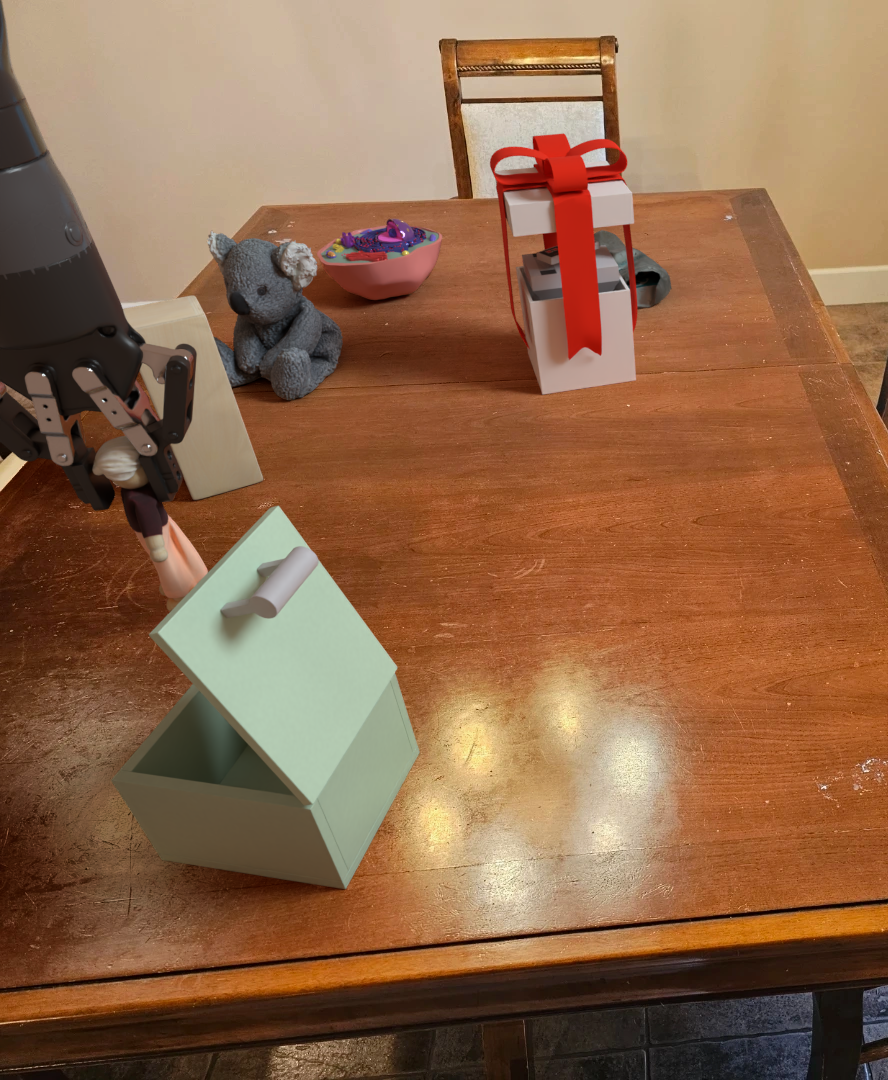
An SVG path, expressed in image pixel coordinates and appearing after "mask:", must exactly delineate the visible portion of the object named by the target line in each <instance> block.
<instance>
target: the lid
mask: <svg viewBox="0 0 888 1080" xmlns="http://www.w3.org/2000/svg"><path fill="white" fill-rule="evenodd" d="M148 636H149V637H150V639H152V641H153V642H154V643H155V644H156V645H157V646H158V647H159V648H160V650H161V651H162V652H163V653H164V654H165V655H166V656H167V657H168V658H169V659H170V660H171V662H172V663H173V664H174V665H175V666H177V668H178V669H179V670H180V671H181V672H182V674H183V675H184V676H185V677H186V678H187V679H188V680H189V681H190V683H192V684H194V685H195V687H196V688H197V689H198V690H199V691H200V692H201V693H202V694H203V695H204V696H205V697H206V699H207V700H208V701H209V702H210V703H211V704H212V705H213V706H214V707H215V708H216V710H217V711H218V712H219V713H220V714H221V715H222V716H223V717H224V718H225V719H226V720H227V722H228V723H229V724H230V725H231V726H232V727H233V728H234V729H235V730H236V731H237V733H238V734H239V735H240V736H241V737H242V738H243V739H244V740H245V741H246V742H247V743H248V745H249V746H250V747H251V748H252V749H253V750H254V751H255V752H256V753H257V754H258V756H259V757H260V758H261V759H262V760H263V761H264V762H265V763H266V764H267V765H268V766H269V768H270V769H271V770H272V771H273V772H274V773H275V774H276V775H277V776H278V777H279V779H280V780H281V781H282V782H283V783H284V784H285V785H286V786H287V787H288V788H289V790H290V791H291V792H292V793H293V794H294V795H295V796H296V797H297V798H298V799H299V800H300V802H301V803H302V804H303V805H312V804H314V802H315V800H316V799H317V797H318V796H319V794H320V792H321V791H322V789H323V787H324V786H325V784H326V783H327V781H328V779H329V778H330V776H331V775H332V773H333V771H334V770H335V768H336V767H337V765H338V763H339V762H340V760H341V758H342V757H343V755H344V754H345V752H346V750H347V749H348V747H349V746H350V744H351V742H352V741H353V739H354V738H355V736H356V734H357V733H358V731H359V729H360V728H361V726H362V725H363V723H364V721H365V720H366V718H367V717H368V715H369V713H370V712H371V710H372V709H373V707H374V705H375V704H376V702H377V700H378V699H379V697H380V696H381V694H382V692H383V691H384V689H385V688H386V686H387V684H388V683H389V681H390V680H391V678H392V676H393V675H394V673H395V674H396V672H397V670H398V666H397V664H396V663H395V662H394V660H393V658H391V656H390V655H389V653H388V652H387V651H386V650H385V648H384V646H382V644H381V643H380V642H379V640H378V639H377V637H376V636H375V635H374V633H373V632H372V630H371V629H370V628H369V626H368V625H367V623H366V622H365V621H364V620H363V618H362V617H361V615H360V614H359V612H358V611H357V610H356V608H355V607H354V606H353V605H352V603H351V602H350V600H349V599H348V598H347V596H346V595H345V593H344V592H343V591H342V590H341V588H340V586H338V584H337V583H336V582H335V580H334V579H333V577H332V576H331V574H329V571H327V569H326V568H325V566H324V565H323V564H322V562H321V561H320V559H319V557H318V555H317V554H316V553H315V552H314V551H313V550H312V549H311V547H310V546H309V545H308V544H307V542H306V541H305V539H304V538H303V536H302V535H301V534H300V532H299V531H298V530H297V529H296V527H295V526H294V524H293V523H292V522H291V520H290V519H289V517H288V516H287V515H286V514H285V512H284V511H283V510H282V508H281V506H280V505H275V506H272V507H269V508H268V509H267V510H266V511H265V512H264V513H263V514H262V516H260V517H259V519H257V521H256V522H255V523H254V524H253V525H252V526H251V527H250V528H249V529H248V530H247V531H246V532H245V534H243V535H242V536H241V538H240V539H238V540H237V542H235V543H234V545H233V546H232V547H231V548H230V549H229V550H228V551H227V552H226V553H225V554H224V555H223V556H222V557H221V558H220V559H219V560H218V562H216V564H215V565H214V566H213V567H212V568H211V569H210V570H208V573H207V574H206V575H205V576H204V577H203V578H202V579H201V580H200V581H199V583H198V584H197V585H196V586H195V587H194V588H193V589H192V590H191V591H190V592H189V593H188V594H187V595H186V596H185V597H184V598H183V599H182V600H181V601H180V602H179V603H178V604H177V606H176V607H175V608H174V609H173V610H172V611H169V613H167V615H165V617H164V618H163V619H162V620H161V621H160V622H159V623H158V624H157V625H156V626H155V627H154V629H152V630H151V631H150V632H149V633H148Z"/></svg>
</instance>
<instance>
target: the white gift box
mask: <svg viewBox="0 0 888 1080" xmlns="http://www.w3.org/2000/svg"><path fill="white" fill-rule="evenodd" d="M600 149H613V150H614V149H615V150H618V155H619V156H618V159H617V161H616V162H614V163H611V164H610V163H609V162H608V161H607V160H598V161H589V162H585V161H584V159H583V157H582V156H584V155H585V154H587V153H590V152H593V151H596V150H600ZM511 157H528V158H534V160H535V162H536V163H533V165H532V166H533V167H524V168H513V169H502V170H496V168H497V165H498V164H499V163H500V162H501V161H503V160H505V159H506V158H511ZM489 167H490V170H491V172H492V175H493V177H494V179H495V191H496V194H497V199H498V206H499V207H498V208H499V216H500V224H501V235H502V245H503V254H504V263H505V270H506V271H505V273H506V280H507V287H508V294H509V295H508V296H509V305H510V310H511V314H512V318H513V320H514V323H515V326H516V329H517V331H518V333H519V336H520V338H521V339H522V341H523V343H524V345H525V346H526V348H527V349H526V350H527V355H528V358H529V360H530V363H531V366H532V369H533V371H534V375H535V377H536V379H537V383H538V387H539V389H540V391H541V395H548V394H555V393H562V392H568V391H575V390H580V389H581V390H582V389H588V388H589V389H590V388H594V387H601V386H608V385H614V384H622V383H627V382H634V381H637V373H636V358H635V357H636V356H635V355H636V354H635V344H634V332H635V329H636V326H637V320H638V309H637V293H636V280H635V269H634V258H633V249H632V248H633V241H632V233H631V232H632V231H631V225H633V224H635V213H634V199H633V197H634V196H633V192H632V190H631V189H630V188H629V187H628V184H627V182H626V181H625V179H624V178H623V176H622V175H621V174H622V173H623V172H625V170H626V169H627V168H628V158H627V155H626V153H625V152H624V151H623V150H622V149H621V147H619V145H618V144H617V143H616V142H614V141H613V140H611V139H608V138H595V139H590V140H587V141H584V142H580V143H579V144H577V145H575V146H573V147H571V145H570V142H569V139H568V137H567V135H566V134H565V133H554V134H553V133H552V134H540V135H533V136H532V148H530V147H524V146H505V147H502V148H499V149H497V150H496V151H494V152H493V153H492V155H491V157H490V160H489ZM507 225H508V226H509V229H510V231H511V234H512V236H513V238H514V237H523V236H524V237H525V236H533V235H541V234H542V239H543V246H544V247H543V248H544V249H543V250H540V251H537V252H535V253H534V252H533V253H525V254H521V258H522V265H520V266H515V272H516V279H517V285H518V292H519V293H518V294H519V300H520V306H521V307H520V308H521V312H522V313H521V314H522V321H523V326H524V331H523V329H522V326H521V325H520V323H519V322H518V320H517V317H516V312H515V304H514V295H513V286H512V276H511V264H510V253H509V252H510V251H509V237H508V226H507ZM615 226H622V231H623V236H624V245H625V247H626V254H627V263H628V271H629V282H630V289H629V288H628V286H627V284H626V283H625V281H624V280H623V278H622V276H621V275H620V273H619V268H618V265H617V263H616V261H615V260H614V258H613V257H612V255H611V254H610V252H609V250H608V249H607V247H606V246H605V245H602V246H599V242H598V241H595V240H594V234H595V231H594V229H596V228H605V227H606V228H607V227H615Z"/></svg>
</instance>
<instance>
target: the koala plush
mask: <svg viewBox="0 0 888 1080" xmlns="http://www.w3.org/2000/svg"><path fill="white" fill-rule="evenodd" d="M207 237H208V238H207V239H206V240H207V241H206V243H207V246H208V249H209V252H210V254H211V256H212V257H213V259H214V261H215V263H217V266H218V269H219V271H220V273H221V275H222V276H223V277H222V278H223V282H224V283H223V284H224V286H225V290H226V292H225V293H226V294H225V296H226V300H227V303H228V305H229V308H230V309H231V310H232V311H233V312H234V313H235V314H237V316H236V321H235V324H234V326H233V327H234V328H233V335H232V336H233V337H232V341H233V342H232V345H233V349H232V348H230V347H229V345H228V344H226V343H225V342H223V341H222V340H221V339H219V338H218V337H217V336H214V335H213V337H214V340H215V343H216V345H217V348H218V351H219V354H220V357H221V360H222V362H223V365H224V368H225V371H226V374H227V377H228V380H229V382H230V385H231V388H235V387H239V386H242V385H246V384H250V383H252V382H255V381H257V380H259V379H261V378H264V379H266V380H267V381H270V383H271V387H272V389H273V392H274V393H275V394H276V395H277V396H278V397H280V398H281V399H283V400H287V401H291V400H295V399H298V398H300V399H301V398H304V396H306V395H308V394H310V393H311V392H313V391H315V390H316V388H318V387H319V386H320V384H322V382H324V380H325V379H326V377H328V376H330V375H331V374H334V372H335V370H336V369H337V365H338V364H339V358H340V357H341V353H342V347H343V344H344V343H343V342H344V341H343V338H344V336H343V334H342V329H341V328H340V326H339V325H338V323H336V322H335V321H334V320H333V319H332V318H330V316H328V315H327V314H325V313H324V312H322V311H321V310H319V309H317V308H316V307H315V304H314V303H313V302H312V301H311V300H310V299H308V298H307V297H306V296H304V295H303V290H304V289H305V288H307V287H309V285H310V284H311V283H312V281H313V278H314V277H316V276H317V271H318V265H317V264H318V262H317V260H316V258H314V254H313V253H312V250H311V249H312V247H308V246H307V244H305V243H303V242H302V243H299V242H296V241H297V240H293V241H286V242H283V243H281V244H279V246H278V245H275V244H274V243H273V242H271V241H270V240H269V241H268V240H262V239H260V238H255V237H251V238H244V239H242V240H240V241H239V242H238V243H237V242H236V241H235V239H233V238H230V237H229V236H227V235H226V234H224V233H222V232H219V233H216V232H214V231H213V229H212V230H211V231H210V234H208V236H207Z"/></svg>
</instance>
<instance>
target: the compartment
mask: <svg viewBox="0 0 888 1080" xmlns="http://www.w3.org/2000/svg"><path fill="white" fill-rule="evenodd" d="M411 723H412V722H411V720H410V717H409V714H408V710H407V707H406V703H405V701H404V697H403V695H402V691H401V688H400V684H399V681H398V677H397V675H396V672H395V673H394V675H393V676H392V678H391V680H390V681H389V683H388V684H387V686H386V688H385V689H384V691H383V692H382V694H381V696H380V697H379V699H378V700H377V702H376V704H375V705H374V707H373V709H372V710H371V712H370V713H369V715H368V717H367V718H366V720H365V721H364V723H363V725H362V726H361V728H360V729H359V731H358V733H357V734H356V736H355V738H354V739H353V741H352V742H351V744H350V746H349V747H348V749H347V750H346V752H345V754H344V755H343V757H342V758H341V760H340V762H339V763H338V765H337V767H336V768H335V770H334V771H333V773H332V775H331V776H330V778H329V779H328V781H327V783H326V784H325V786H324V787H323V789H322V791H321V792H320V794H319V796H318V797H317V799H316V800H315V802H314V804H312V805H303V804H302V803H301V802H300V800H299V799H298V798H297V797H296V796H295V795H294V794H293V793H292V792H291V791H290V790H289V788H288V787H287V786H286V785H285V784H284V783H283V782H282V781H281V780H280V779H279V777H278V776H277V775H276V774H275V773H274V772H273V771H272V770H271V769H270V768H269V766H268V765H267V764H266V763H265V762H264V761H263V760H262V759H261V758H260V757H259V756H258V754H257V753H256V752H255V751H254V750H253V749H252V748H251V747H250V746H249V745H248V743H247V742H246V741H245V740H244V739H243V738H242V737H241V736H240V735H239V734H238V733H237V731H236V730H235V729H234V728H233V727H232V726H231V725H230V724H229V723H228V722H227V720H226V719H225V718H224V717H223V716H222V715H221V714H220V713H219V712H218V711H217V710H216V708H215V707H214V706H213V705H212V704H211V703H210V702H209V701H208V700H207V699H206V697H205V696H204V695H203V694H202V693H201V692H200V691H199V690H198V689H197V688H196V687H195V685H194V684H193V683H192V684H191V686H190V687H189V688H188V689H187V690H186V691H185V692H184V694H183V695H182V696H181V697H180V698H179V700H177V702H176V703H175V705H173V706H172V708H171V709H170V710H169V711H168V712H167V714H166V715H165V716H164V717H163V718H162V720H161V721H160V722H159V723H158V725H156V727H155V728H154V729H153V730H152V731H151V733H149V735H148V736H147V737H146V738H145V740H144V741H142V743H141V744H140V745H139V747H137V749H136V750H135V751H134V752H133V754H132V755H131V756H130V757H129V758H128V760H126V762H125V763H124V764H123V765H122V766H121V768H120V769H119V770H118V771H117V773H115V775H114V776H113V777H112V778H111V779H110V781H111V783H112V784H113V786H114V787H115V789H116V791H117V792H118V794H119V795H120V797H121V798H122V800H123V802H124V803H125V805H126V807H127V808H128V809H129V811H130V812H131V814H132V816H133V817H134V819H135V820H136V822H137V824H138V825H139V827H140V829H141V830H142V831H143V833H144V835H145V836H146V838H147V839H148V840H149V842H150V844H151V846H152V847H153V849H154V850H155V852H156V854H157V855H158V856H159V858H160V860H162V861H166V862H172V863H178V864H183V865H191V866H197V867H203V868H208V869H209V868H211V869H214V870H215V869H216V870H222V871H228V872H235V873H241V874H247V875H254V876H259V877H260V876H261V877H266V878H271V879H278V880H284V881H285V880H286V881H292V882H298V883H303V884H309V885H317V886H323V887H329V888H336V889H343V890H347V888H348V886H349V885H350V883H351V880H352V879H353V876H354V875H355V873H356V871H357V869H358V868H359V865H360V864H361V862H362V860H363V858H364V857H365V854H366V853H367V851H368V849H369V848H370V846H371V843H372V842H373V840H374V839H375V836H376V834H377V832H378V830H379V829H380V826H381V825H382V823H383V821H384V819H385V817H386V815H388V812H389V810H390V809H391V806H392V804H393V802H394V801H395V800H396V797H397V796H398V793H399V792H400V790H401V788H402V786H403V784H404V782H405V781H406V778H407V777H408V775H409V773H410V771H411V769H412V768H413V766H414V764H415V762H416V761H417V758H418V756H419V755H420V751H421V750H420V748H419V745H418V742H417V739H416V736H415V733H414V729H413V726H412V724H411Z"/></svg>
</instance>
